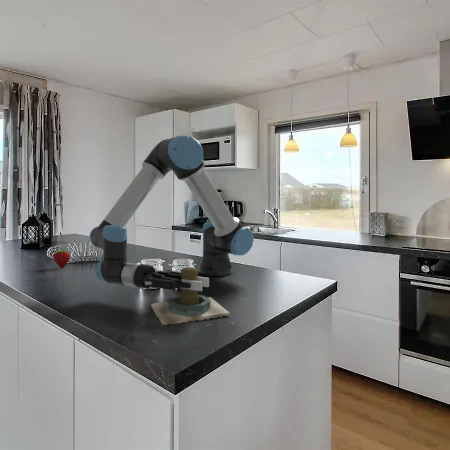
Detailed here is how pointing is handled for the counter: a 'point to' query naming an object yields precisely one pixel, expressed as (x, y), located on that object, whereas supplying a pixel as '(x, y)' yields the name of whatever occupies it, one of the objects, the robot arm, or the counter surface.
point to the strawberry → (61, 258)
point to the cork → (188, 295)
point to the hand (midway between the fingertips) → (205, 284)
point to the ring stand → (188, 310)
